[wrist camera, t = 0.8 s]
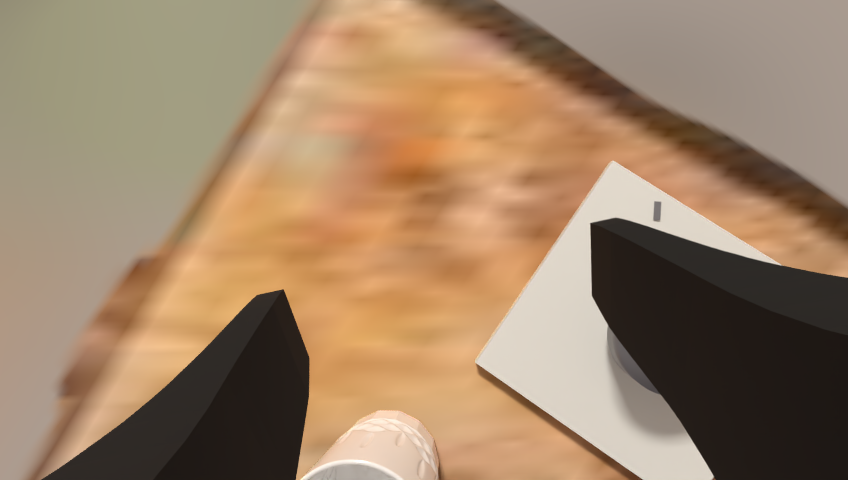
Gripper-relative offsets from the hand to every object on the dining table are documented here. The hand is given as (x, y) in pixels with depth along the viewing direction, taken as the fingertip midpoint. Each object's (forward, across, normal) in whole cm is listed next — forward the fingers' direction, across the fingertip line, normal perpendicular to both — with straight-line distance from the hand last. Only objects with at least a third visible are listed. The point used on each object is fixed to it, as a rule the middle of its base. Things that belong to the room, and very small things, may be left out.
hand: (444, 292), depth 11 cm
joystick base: (+15, -13, +16) cm, 25 cm away
